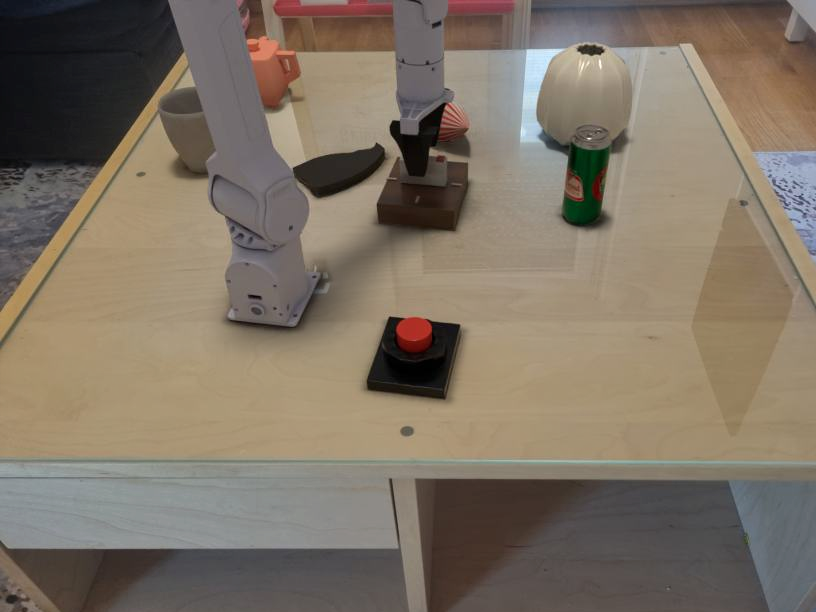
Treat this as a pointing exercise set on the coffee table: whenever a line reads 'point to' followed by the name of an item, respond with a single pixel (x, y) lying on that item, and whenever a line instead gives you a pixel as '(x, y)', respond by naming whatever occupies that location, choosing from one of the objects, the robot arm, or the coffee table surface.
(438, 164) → the dial knob
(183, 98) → the mug
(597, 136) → the soda can
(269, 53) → the teapot
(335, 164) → the fan shaped piece
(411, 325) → the button
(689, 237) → the coffee table surface
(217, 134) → the robot arm
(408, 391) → the button block
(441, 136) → the ice cream cone
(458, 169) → the dial panel
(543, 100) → the vase
